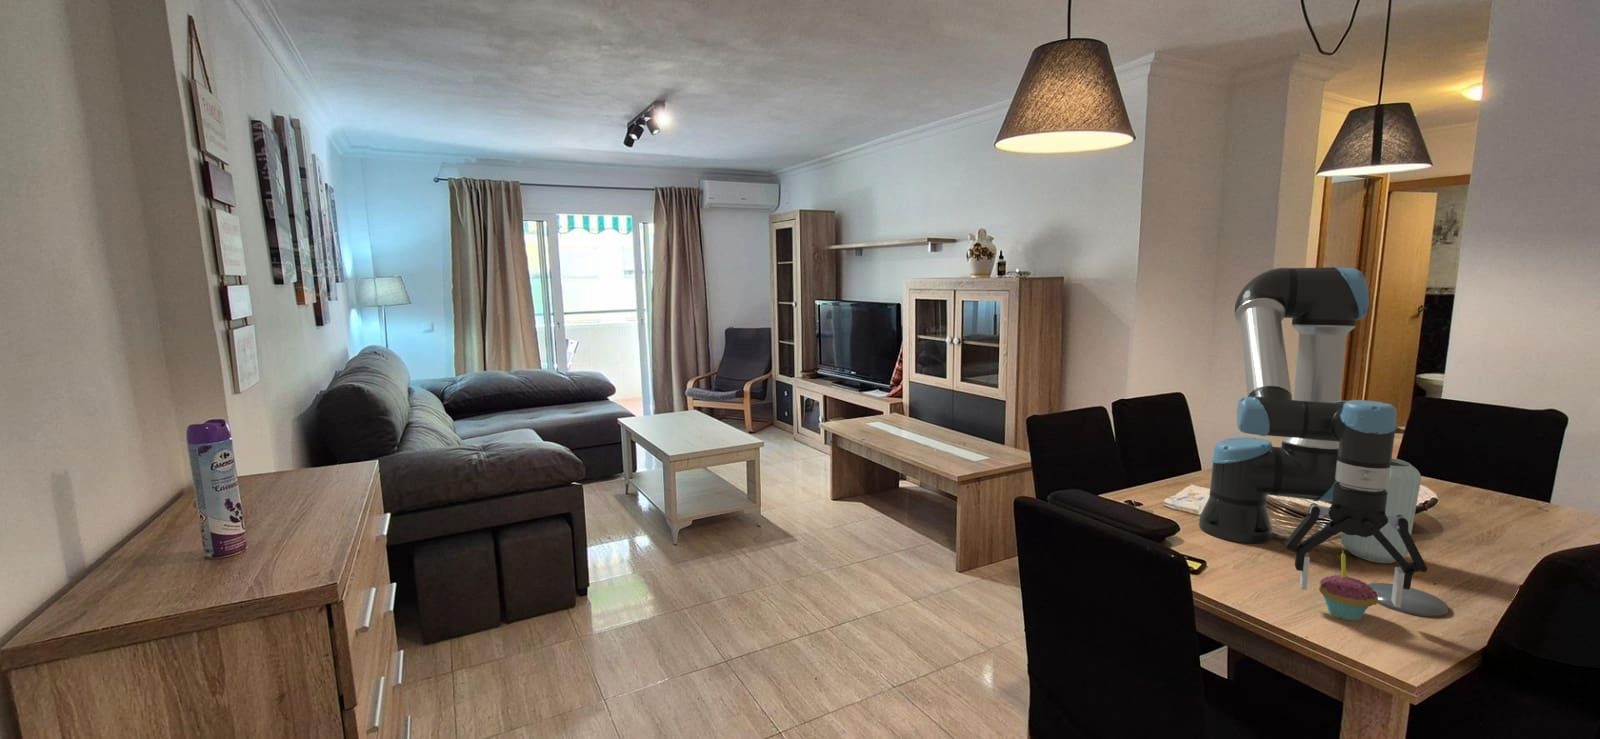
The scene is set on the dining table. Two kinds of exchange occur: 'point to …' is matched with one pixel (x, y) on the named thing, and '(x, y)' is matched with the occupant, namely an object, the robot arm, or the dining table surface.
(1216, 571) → the dining table surface
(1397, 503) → the vase
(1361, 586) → the cupcake
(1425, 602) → the coaster
